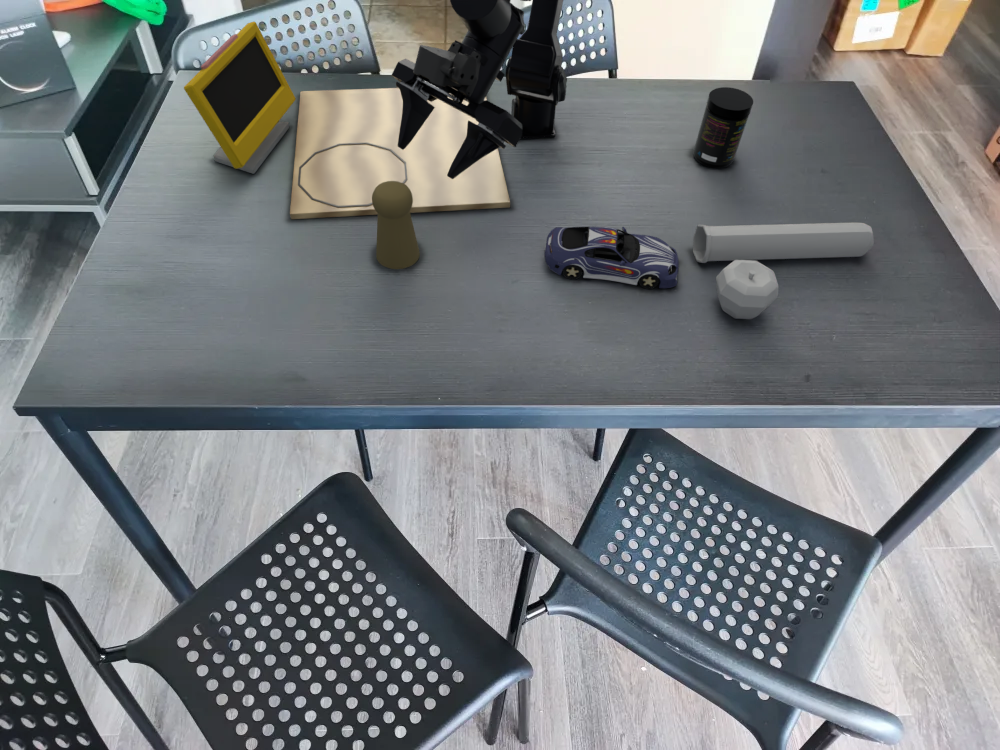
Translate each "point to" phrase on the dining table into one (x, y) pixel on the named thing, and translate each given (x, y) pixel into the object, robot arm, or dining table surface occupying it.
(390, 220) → the pepper shaker
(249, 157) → the toy computer monitor
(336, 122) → the sketch board
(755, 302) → the apple
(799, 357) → the dining table surface
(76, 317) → the dining table surface
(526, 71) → the robot arm
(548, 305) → the dining table surface
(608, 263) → the toy car
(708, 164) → the supplement container
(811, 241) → the tube
